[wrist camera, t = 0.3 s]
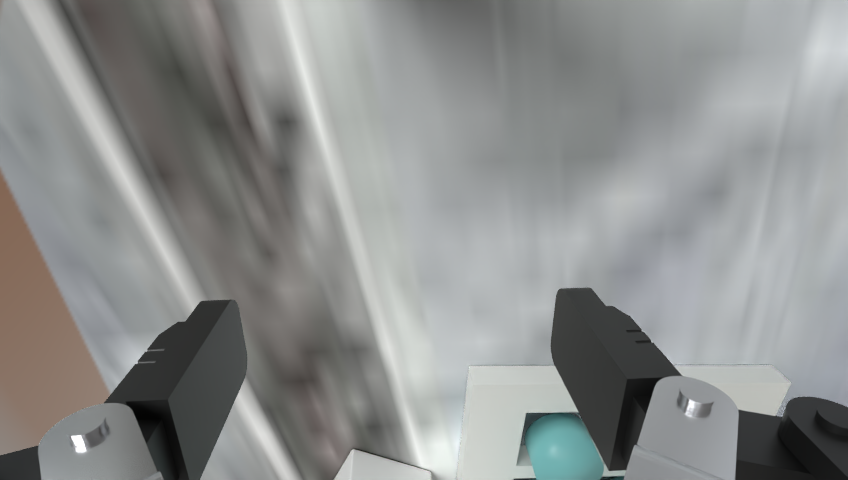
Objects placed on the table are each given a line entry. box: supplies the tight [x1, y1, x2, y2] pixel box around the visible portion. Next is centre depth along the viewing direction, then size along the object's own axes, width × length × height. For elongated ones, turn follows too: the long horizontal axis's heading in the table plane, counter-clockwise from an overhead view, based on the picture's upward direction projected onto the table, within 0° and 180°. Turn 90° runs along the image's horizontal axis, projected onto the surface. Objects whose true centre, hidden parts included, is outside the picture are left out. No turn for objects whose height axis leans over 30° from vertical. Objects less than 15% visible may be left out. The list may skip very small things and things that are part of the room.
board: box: [456, 365, 791, 480], centre depth 39 cm, size 18×24×2 cm
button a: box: [524, 412, 604, 480], centre depth 35 cm, size 5×5×3 cm
